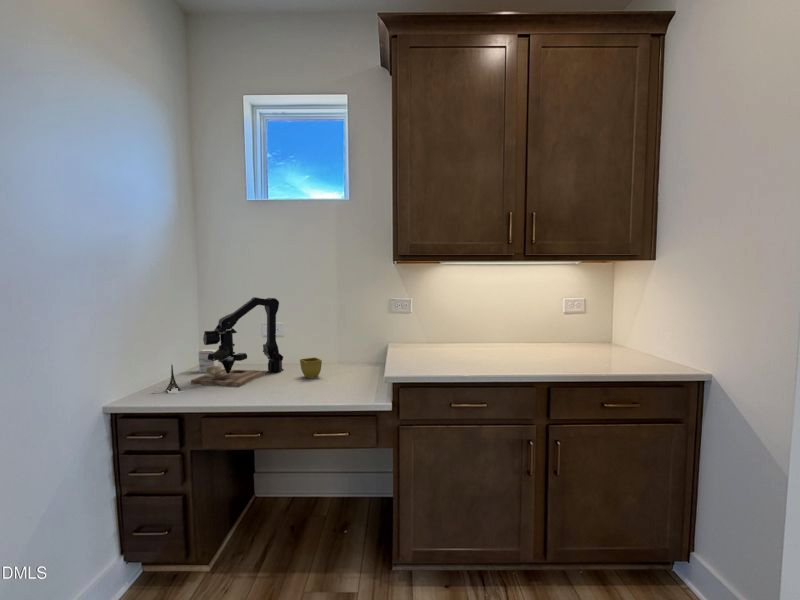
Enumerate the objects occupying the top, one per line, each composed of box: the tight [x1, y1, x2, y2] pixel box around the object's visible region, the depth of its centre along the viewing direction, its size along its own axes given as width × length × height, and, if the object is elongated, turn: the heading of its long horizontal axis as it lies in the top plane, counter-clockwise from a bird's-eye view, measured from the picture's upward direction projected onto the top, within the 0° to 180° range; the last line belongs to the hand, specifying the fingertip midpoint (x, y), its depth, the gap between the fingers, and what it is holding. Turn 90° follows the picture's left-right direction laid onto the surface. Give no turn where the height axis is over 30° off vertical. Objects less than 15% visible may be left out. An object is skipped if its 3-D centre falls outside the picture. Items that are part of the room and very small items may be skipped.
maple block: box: [205, 365, 222, 376], centre depth 209 cm, size 5×5×4 cm
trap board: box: [190, 368, 266, 387], centre depth 208 cm, size 26×23×2 cm
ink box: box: [198, 349, 219, 373], centre depth 225 cm, size 8×5×12 cm, turn 84°
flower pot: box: [299, 356, 323, 379], centre depth 211 cm, size 9×9×9 cm
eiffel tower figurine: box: [165, 364, 182, 391], centre depth 189 cm, size 15×10×13 cm
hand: (228, 373), depth 208 cm, fingers closed
